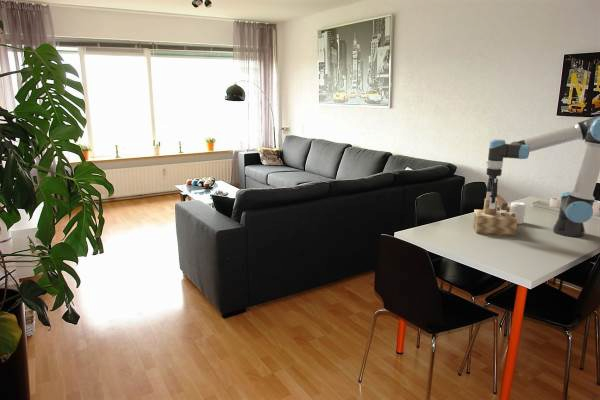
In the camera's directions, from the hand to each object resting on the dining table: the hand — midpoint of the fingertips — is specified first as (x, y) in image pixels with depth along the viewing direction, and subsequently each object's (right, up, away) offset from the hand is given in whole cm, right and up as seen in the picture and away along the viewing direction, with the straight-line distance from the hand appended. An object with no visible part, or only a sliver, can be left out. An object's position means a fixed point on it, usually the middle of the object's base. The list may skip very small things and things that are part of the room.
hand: (490, 205), depth 246 cm
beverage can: (+24, -10, +20) cm, 33 cm away
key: (+14, 0, +18) cm, 23 cm away
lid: (+3, -5, 0) cm, 6 cm away
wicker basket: (+4, -14, +5) cm, 15 cm away
